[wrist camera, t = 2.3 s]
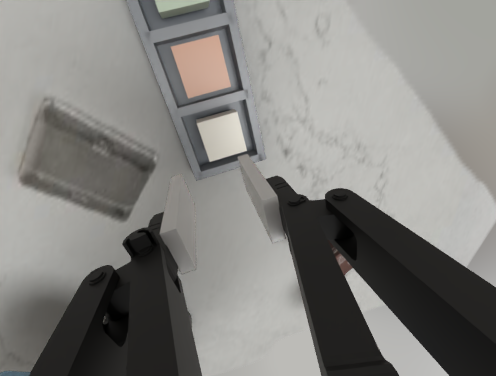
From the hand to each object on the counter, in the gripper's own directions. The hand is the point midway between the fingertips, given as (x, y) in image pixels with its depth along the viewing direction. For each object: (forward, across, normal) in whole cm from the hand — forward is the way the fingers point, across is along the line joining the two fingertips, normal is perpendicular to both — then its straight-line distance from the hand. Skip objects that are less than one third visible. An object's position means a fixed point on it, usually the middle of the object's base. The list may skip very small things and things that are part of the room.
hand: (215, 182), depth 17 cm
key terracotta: (+14, +2, +7) cm, 16 cm away
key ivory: (+14, +2, 0) cm, 14 cm away
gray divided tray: (+17, +2, +8) cm, 18 cm away
